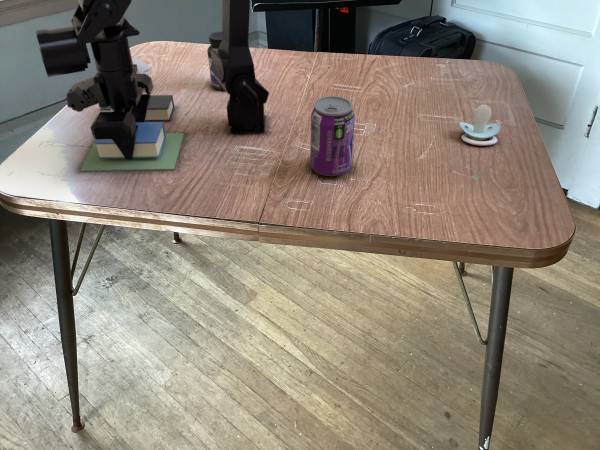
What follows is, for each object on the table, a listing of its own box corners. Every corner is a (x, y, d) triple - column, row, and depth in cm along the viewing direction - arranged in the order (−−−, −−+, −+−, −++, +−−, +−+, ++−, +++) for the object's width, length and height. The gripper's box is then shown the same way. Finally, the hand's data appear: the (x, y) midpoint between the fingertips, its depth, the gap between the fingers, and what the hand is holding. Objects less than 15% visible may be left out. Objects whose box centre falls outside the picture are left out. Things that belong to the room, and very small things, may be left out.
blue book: (166, 137, 100) (163, 121, 98) (159, 157, 95) (156, 141, 93) (108, 138, 100) (104, 122, 98) (98, 158, 95) (94, 142, 93)
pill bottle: (241, 79, 121) (238, 30, 114) (236, 91, 116) (232, 41, 109) (214, 78, 121) (209, 29, 114) (208, 90, 117) (202, 40, 110)
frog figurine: (121, 83, 120) (114, 52, 115) (154, 80, 121) (148, 50, 116) (120, 95, 115) (112, 64, 111) (153, 92, 116) (147, 61, 112)
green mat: (184, 134, 103) (183, 133, 102) (174, 170, 93) (173, 168, 93) (99, 135, 102) (98, 134, 102) (80, 171, 93) (80, 169, 93)
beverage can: (348, 181, 91) (352, 117, 83) (306, 177, 92) (307, 113, 84) (353, 159, 96) (358, 96, 88) (314, 154, 97) (315, 92, 89)
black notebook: (174, 107, 111) (172, 95, 109) (170, 121, 107) (167, 108, 105) (110, 108, 111) (107, 95, 109) (103, 122, 106) (100, 109, 105)
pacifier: (500, 149, 99) (495, 131, 103) (509, 118, 94) (503, 101, 99) (459, 146, 99) (456, 129, 104) (466, 116, 95) (462, 99, 100)
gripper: (81, 43, 94) (102, 122, 104) (44, 91, 80) (73, 178, 90) (145, 42, 95) (160, 121, 105) (120, 90, 80) (140, 177, 90)
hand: (134, 147), depth 97 cm, fingers closed on blue book, 7 cm apart
